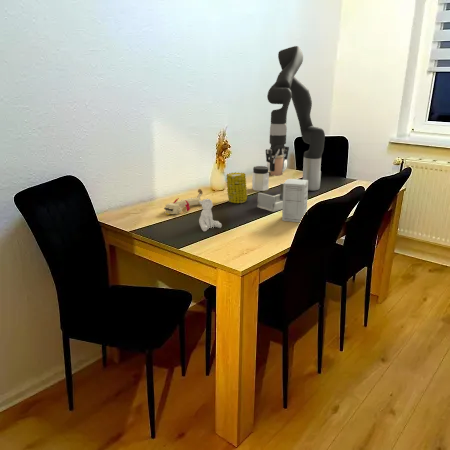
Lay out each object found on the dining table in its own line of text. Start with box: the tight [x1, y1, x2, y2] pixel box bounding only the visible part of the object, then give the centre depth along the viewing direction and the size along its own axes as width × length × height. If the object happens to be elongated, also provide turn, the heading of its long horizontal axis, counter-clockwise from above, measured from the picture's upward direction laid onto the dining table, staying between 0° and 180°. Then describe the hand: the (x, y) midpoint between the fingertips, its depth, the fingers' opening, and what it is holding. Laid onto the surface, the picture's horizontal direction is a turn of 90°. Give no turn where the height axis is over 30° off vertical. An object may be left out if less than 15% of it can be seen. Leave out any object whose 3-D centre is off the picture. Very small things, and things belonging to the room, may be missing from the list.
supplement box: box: [281, 178, 309, 223], centre depth 196 cm, size 10×9×17 cm
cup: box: [266, 159, 288, 173], centre depth 283 cm, size 12×12×10 cm
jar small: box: [269, 155, 284, 177], centre depth 210 cm, size 6×6×9 cm
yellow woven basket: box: [226, 172, 248, 205], centre depth 222 cm, size 15×12×10 cm
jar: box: [251, 165, 270, 192], centre depth 245 cm, size 9×8×12 cm
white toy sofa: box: [256, 191, 283, 213], centre depth 216 cm, size 17×10×7 cm, turn 133°
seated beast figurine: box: [198, 198, 223, 232], centre depth 186 cm, size 10×9×12 cm
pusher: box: [279, 183, 284, 201], centre depth 220 cm, size 1×7×8 cm, turn 43°
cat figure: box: [163, 188, 205, 216], centre depth 210 cm, size 10×9×25 cm
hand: (276, 170), depth 211 cm, fingers closed on jar small, 5 cm apart
